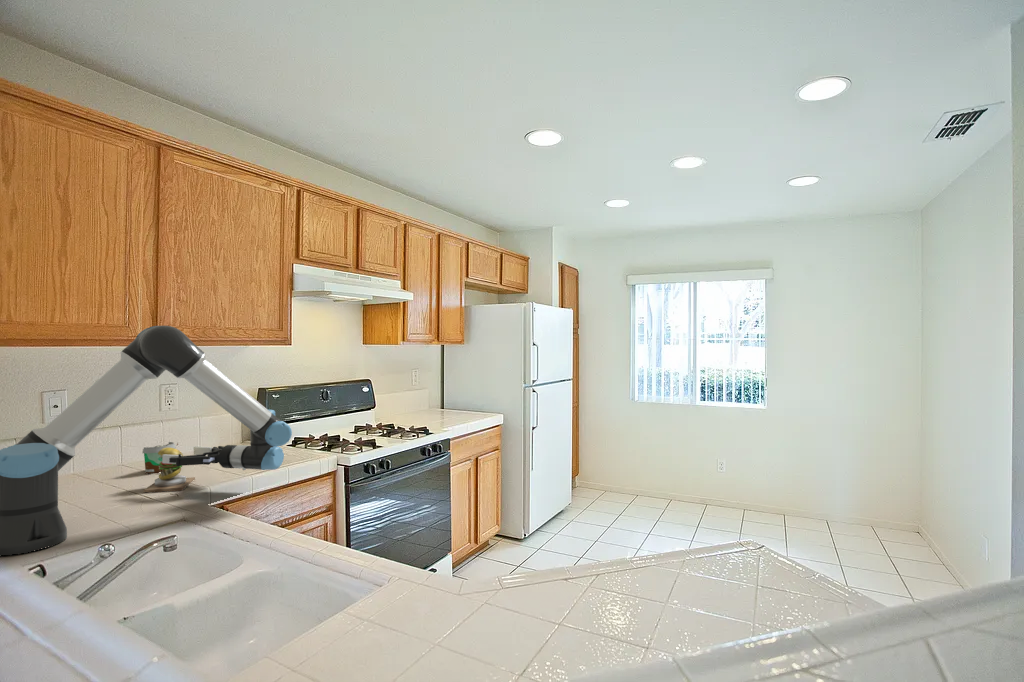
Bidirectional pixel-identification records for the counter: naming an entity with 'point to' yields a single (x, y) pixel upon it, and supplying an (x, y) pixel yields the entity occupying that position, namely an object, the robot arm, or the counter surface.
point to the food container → (154, 457)
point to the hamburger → (171, 468)
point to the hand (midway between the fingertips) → (179, 454)
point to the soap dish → (170, 484)
